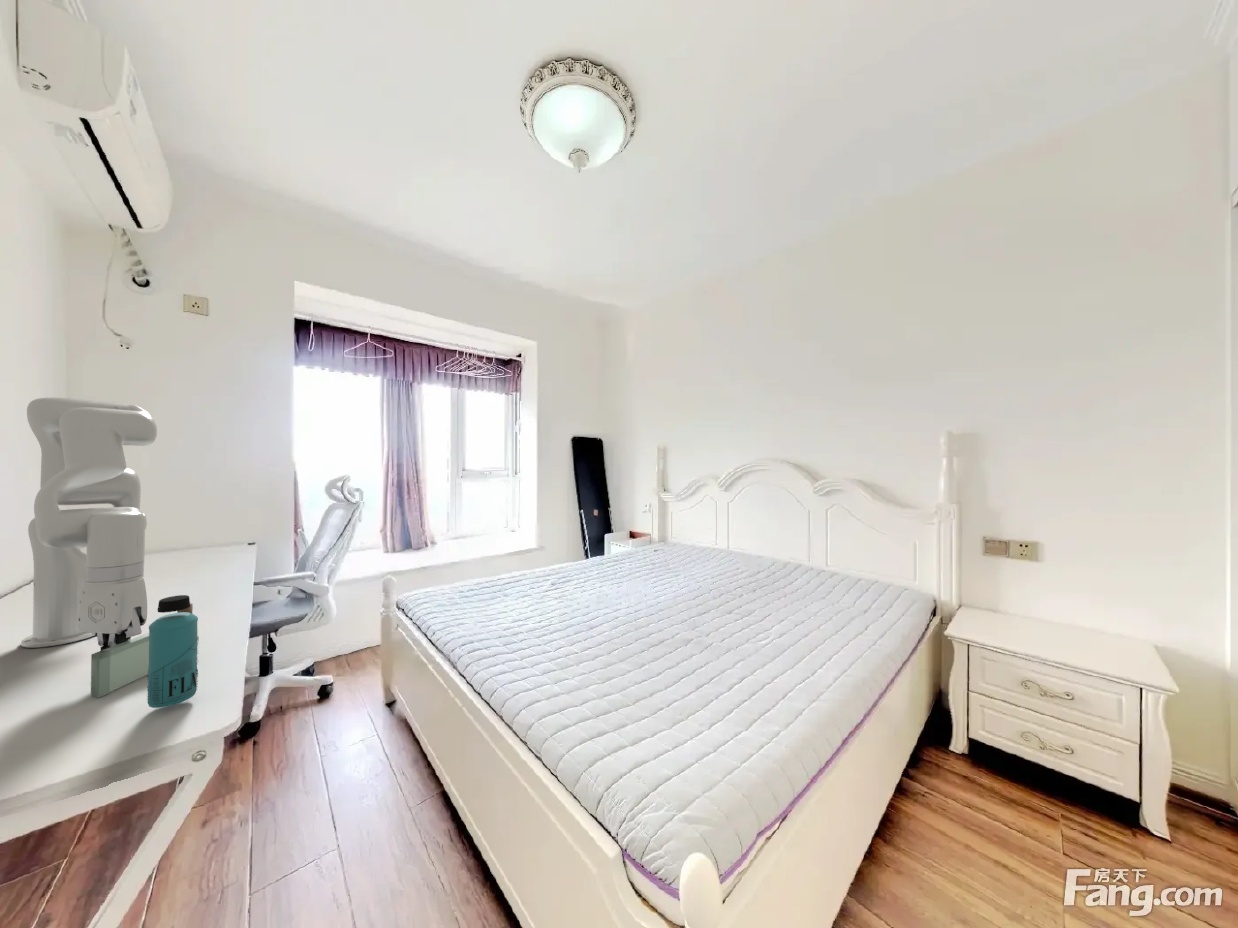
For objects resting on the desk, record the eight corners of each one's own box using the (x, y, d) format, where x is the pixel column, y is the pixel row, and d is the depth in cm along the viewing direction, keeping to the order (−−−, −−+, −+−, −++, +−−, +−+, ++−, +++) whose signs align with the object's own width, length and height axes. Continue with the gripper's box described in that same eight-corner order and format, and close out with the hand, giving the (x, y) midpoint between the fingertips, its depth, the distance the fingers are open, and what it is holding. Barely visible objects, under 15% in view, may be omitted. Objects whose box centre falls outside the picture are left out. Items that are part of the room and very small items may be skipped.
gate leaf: (169, 660, 93) (170, 624, 93) (177, 660, 93) (177, 624, 93) (90, 696, 79) (91, 654, 79) (99, 696, 79) (100, 654, 79)
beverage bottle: (163, 719, 73) (166, 604, 73) (135, 714, 74) (137, 601, 74) (207, 699, 79) (209, 593, 79) (180, 694, 81) (182, 590, 81)
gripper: (57, 575, 82) (55, 669, 82) (124, 579, 80) (122, 675, 80) (108, 566, 89) (106, 652, 89) (170, 569, 88) (168, 657, 88)
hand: (114, 663), depth 85 cm, fingers closed
